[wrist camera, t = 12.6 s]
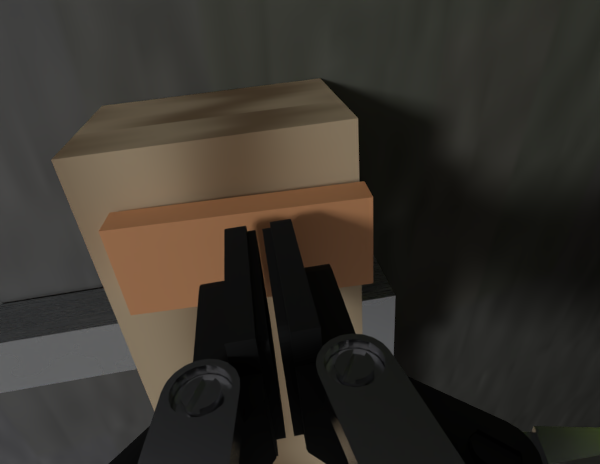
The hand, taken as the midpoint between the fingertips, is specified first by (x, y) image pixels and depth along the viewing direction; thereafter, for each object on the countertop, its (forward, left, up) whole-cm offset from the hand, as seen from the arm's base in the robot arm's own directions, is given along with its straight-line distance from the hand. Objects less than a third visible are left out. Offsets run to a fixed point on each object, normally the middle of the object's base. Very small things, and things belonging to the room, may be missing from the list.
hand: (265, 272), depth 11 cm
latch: (0, 0, -2) cm, 2 cm away
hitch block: (+1, +6, -8) cm, 10 cm away
